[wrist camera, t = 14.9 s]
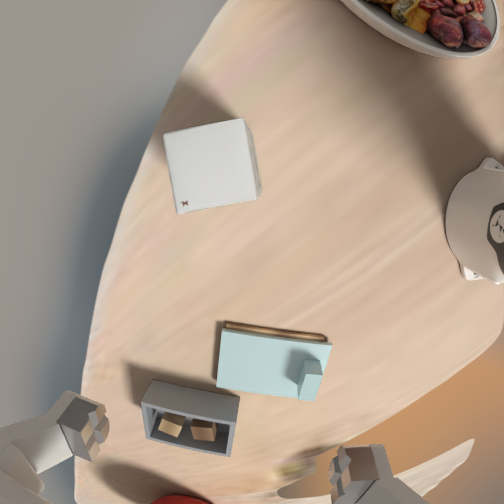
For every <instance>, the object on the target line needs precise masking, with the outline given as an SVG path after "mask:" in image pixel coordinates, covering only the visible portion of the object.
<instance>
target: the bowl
mask: <svg viewBox="0 0 504 504" xmlns="http://www.w3.org/2000/svg"><path fill="white" fill-rule="evenodd" d="M341 1H342V2H343V3H344V4H345V5H346V6H347V7H348V8H349V9H350V10H351V11H352V12H353V13H354V14H356V15H357V16H358V17H359V18H360V19H362V20H363V21H364V22H366V23H367V24H368V25H370V26H371V27H373V28H374V29H375V30H377V31H378V32H380V33H382V34H383V35H385V36H386V37H388V38H390V39H392V40H393V41H395V42H397V43H399V44H401V45H403V46H406V47H408V48H410V49H412V50H415V51H417V52H420V53H423V54H426V55H430V56H433V57H438V58H443V59H451V60H463V59H470V58H474V57H477V56H480V55H482V54H484V53H486V52H487V51H489V50H490V49H491V48H492V47H493V46H494V45H495V43H496V41H497V39H498V36H499V32H500V17H499V12H498V8H497V5H496V2H495V0H341Z"/></svg>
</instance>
